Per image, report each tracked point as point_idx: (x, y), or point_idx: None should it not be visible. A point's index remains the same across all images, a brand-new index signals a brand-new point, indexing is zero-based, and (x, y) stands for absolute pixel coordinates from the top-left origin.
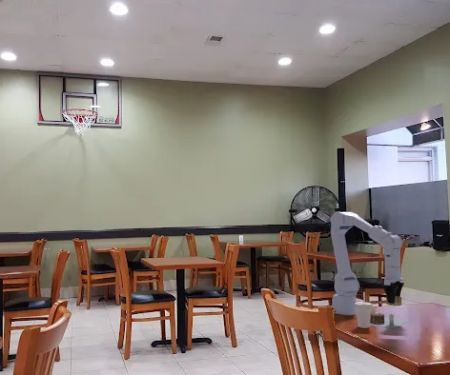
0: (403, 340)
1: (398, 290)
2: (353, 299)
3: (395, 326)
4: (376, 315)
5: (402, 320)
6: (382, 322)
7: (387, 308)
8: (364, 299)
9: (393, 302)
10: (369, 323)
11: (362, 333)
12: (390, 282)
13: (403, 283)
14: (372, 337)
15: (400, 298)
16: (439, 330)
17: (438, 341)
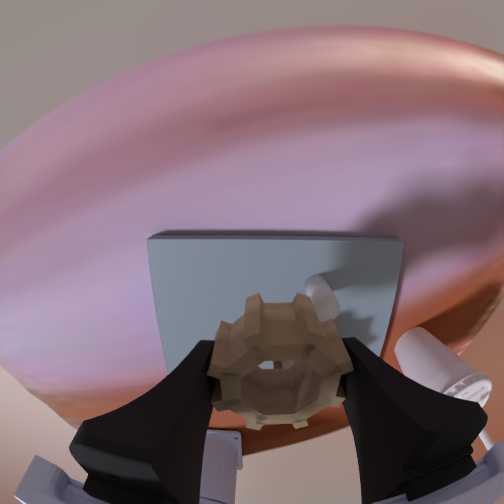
0: (492, 172)
1: (190, 414)
2: (208, 486)
3: (366, 250)
4: None
5: (187, 266)
6: None
7: (15, 362)
8: None
9: (359, 342)
10: (430, 339)
11: (457, 322)
12: (434, 499)
13: (115, 449)
14: (490, 274)
15: (265, 332)
16: (240, 57)
17: (444, 54)
